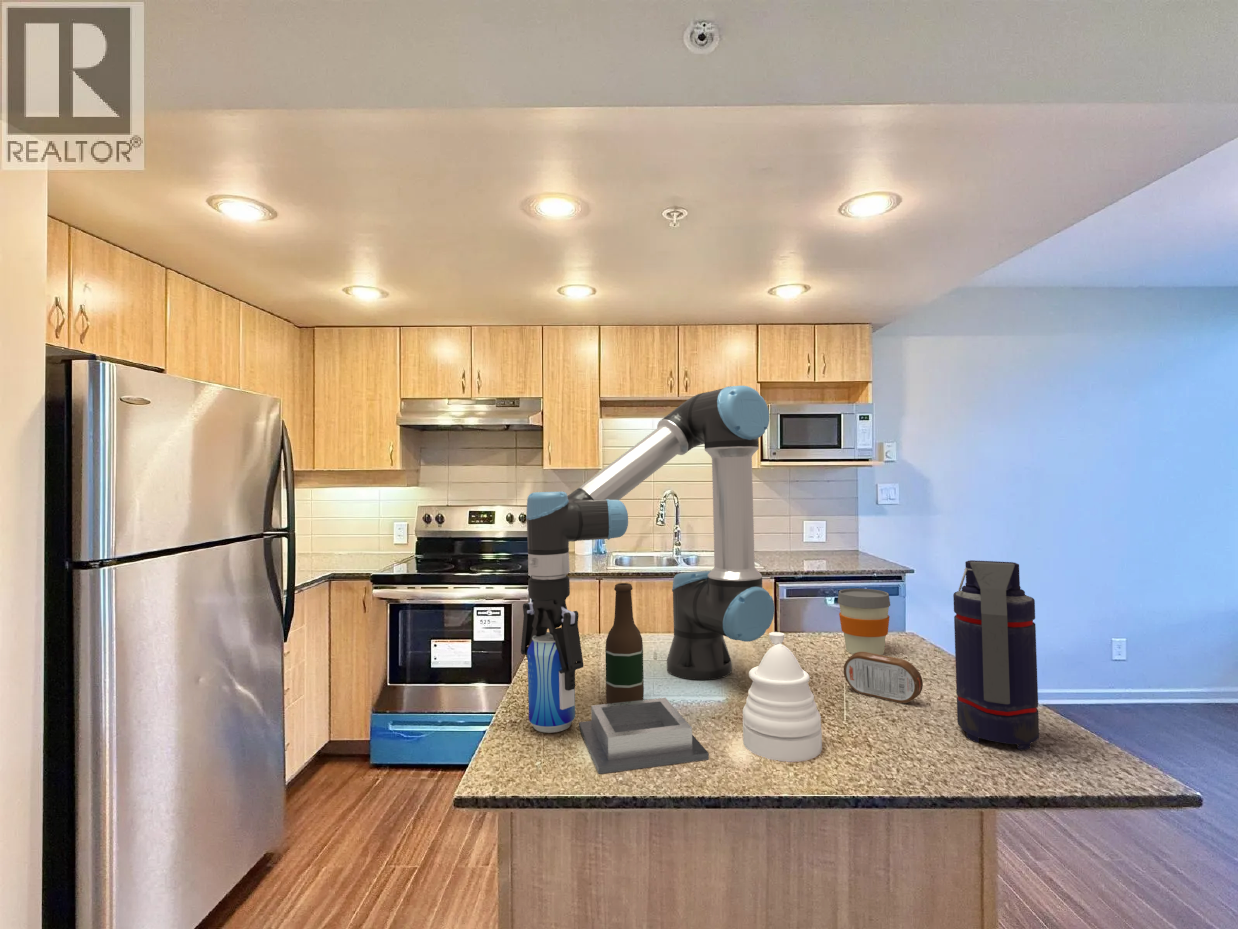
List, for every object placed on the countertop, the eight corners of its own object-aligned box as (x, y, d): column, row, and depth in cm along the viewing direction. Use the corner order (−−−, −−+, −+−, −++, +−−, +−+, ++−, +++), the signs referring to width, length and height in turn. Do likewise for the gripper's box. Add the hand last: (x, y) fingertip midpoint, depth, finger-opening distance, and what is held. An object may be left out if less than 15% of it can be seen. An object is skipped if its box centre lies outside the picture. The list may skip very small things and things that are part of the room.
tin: (924, 704, 118) (922, 661, 119) (918, 709, 116) (917, 665, 116) (848, 687, 129) (847, 647, 129) (842, 691, 126) (841, 651, 127)
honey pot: (737, 728, 108) (735, 628, 109) (809, 728, 108) (806, 627, 108) (750, 762, 96) (748, 647, 96) (832, 762, 95) (829, 647, 96)
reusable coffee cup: (834, 644, 162) (832, 588, 162) (883, 645, 160) (881, 588, 160) (845, 658, 149) (843, 597, 150) (898, 659, 148) (896, 597, 148)
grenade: (958, 717, 111) (953, 555, 112) (1036, 730, 105) (1030, 558, 106) (956, 747, 100) (950, 564, 100) (1044, 763, 93) (1037, 569, 94)
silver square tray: (672, 717, 114) (672, 693, 114) (708, 759, 97) (708, 731, 97) (578, 727, 110) (578, 702, 110) (598, 774, 92) (598, 744, 92)
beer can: (567, 736, 105) (565, 643, 105) (522, 733, 107) (520, 642, 107) (580, 717, 113) (578, 631, 113) (538, 714, 115) (536, 630, 115)
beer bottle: (631, 714, 116) (629, 588, 116) (598, 706, 120) (596, 585, 121) (651, 701, 122) (649, 582, 123) (619, 694, 127) (617, 579, 127)
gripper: (499, 573, 115) (502, 692, 115) (569, 585, 100) (572, 723, 100) (532, 568, 121) (534, 682, 120) (602, 579, 105) (605, 710, 105)
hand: (551, 700), depth 110 cm, fingers closed on beer can, 8 cm apart
